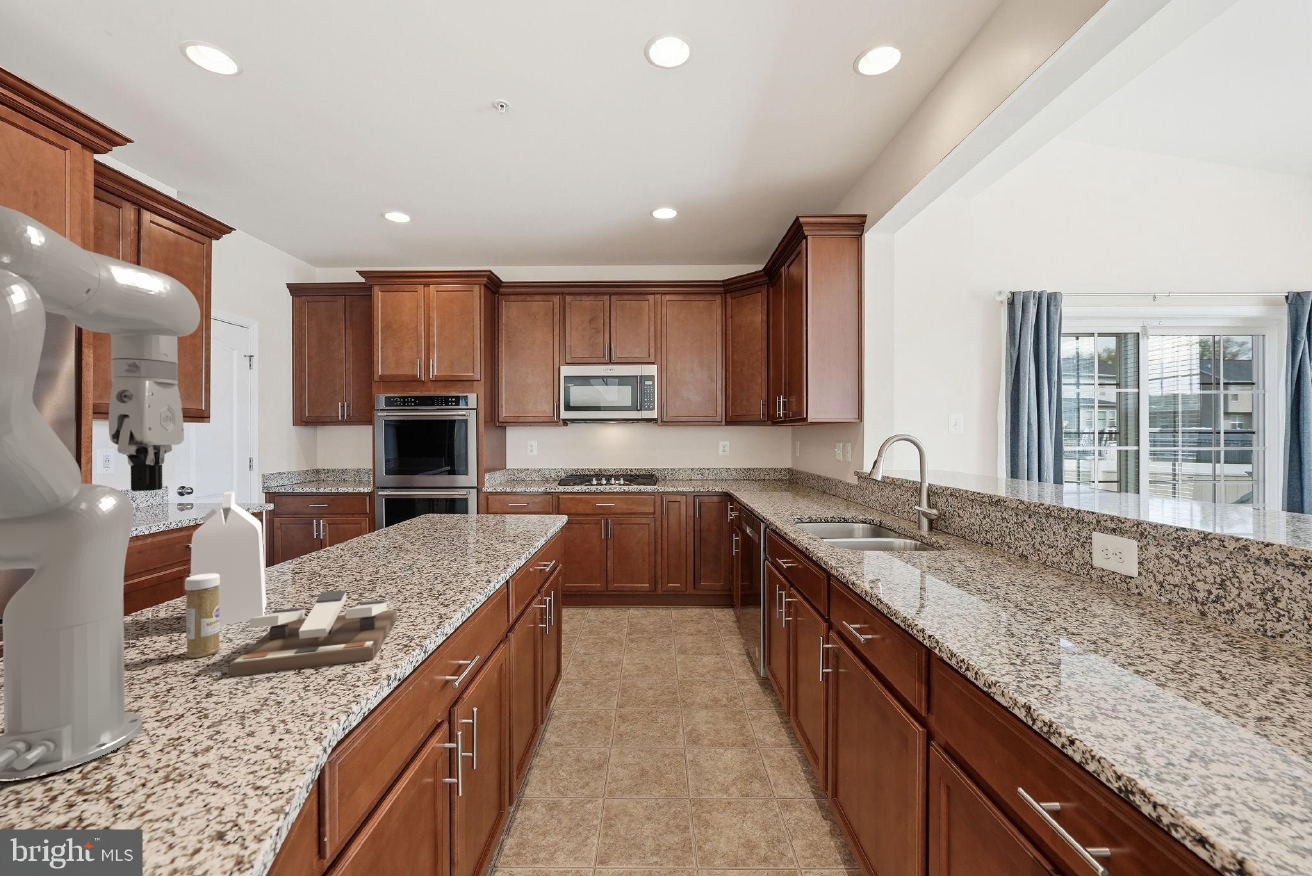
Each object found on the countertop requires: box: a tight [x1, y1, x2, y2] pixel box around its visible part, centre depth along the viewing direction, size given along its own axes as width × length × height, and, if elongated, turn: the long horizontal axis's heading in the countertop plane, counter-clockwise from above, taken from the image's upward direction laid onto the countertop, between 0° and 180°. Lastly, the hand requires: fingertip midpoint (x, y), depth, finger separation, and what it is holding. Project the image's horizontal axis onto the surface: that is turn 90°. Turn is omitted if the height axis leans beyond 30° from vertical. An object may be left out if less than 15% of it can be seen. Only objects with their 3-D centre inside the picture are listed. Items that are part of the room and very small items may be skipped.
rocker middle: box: [299, 590, 347, 639], centre depth 93 cm, size 12×4×2 cm, turn 16°
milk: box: [190, 491, 267, 627], centre depth 109 cm, size 12×12×26 cm
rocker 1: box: [249, 606, 306, 629], centre depth 91 cm, size 12×4×2 cm, turn 16°
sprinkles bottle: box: [184, 573, 221, 659], centre depth 90 cm, size 5×5×14 cm
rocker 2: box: [345, 599, 388, 619], centre depth 95 cm, size 12×4×2 cm, turn 16°
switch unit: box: [229, 609, 398, 677], centre depth 93 cm, size 20×20×4 cm
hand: (146, 490), depth 82 cm, fingers closed
